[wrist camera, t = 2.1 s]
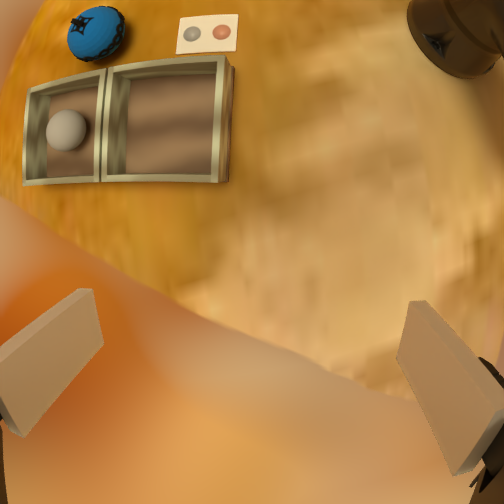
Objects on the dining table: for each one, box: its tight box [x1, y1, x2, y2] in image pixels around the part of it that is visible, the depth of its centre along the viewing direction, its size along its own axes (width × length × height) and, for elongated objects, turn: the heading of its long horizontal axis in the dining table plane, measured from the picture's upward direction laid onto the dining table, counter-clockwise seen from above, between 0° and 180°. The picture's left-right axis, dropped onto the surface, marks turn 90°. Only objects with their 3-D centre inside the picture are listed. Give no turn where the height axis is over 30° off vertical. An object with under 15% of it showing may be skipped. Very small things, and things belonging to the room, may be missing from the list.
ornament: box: [67, 6, 125, 62], centre depth 29 cm, size 9×9×10 cm
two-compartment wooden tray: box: [22, 55, 235, 186], centre depth 35 cm, size 15×30×6 cm, turn 87°
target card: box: [176, 14, 239, 55], centre depth 33 cm, size 6×8×1 cm
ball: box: [46, 109, 86, 152], centre depth 34 cm, size 6×6×6 cm
